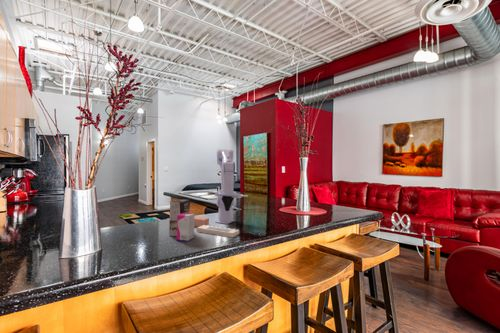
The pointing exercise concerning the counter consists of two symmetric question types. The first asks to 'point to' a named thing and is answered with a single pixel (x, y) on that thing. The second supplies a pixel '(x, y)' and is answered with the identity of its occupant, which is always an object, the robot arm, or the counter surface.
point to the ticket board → (218, 230)
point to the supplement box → (185, 227)
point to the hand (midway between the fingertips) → (227, 210)
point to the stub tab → (200, 221)
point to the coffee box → (177, 213)
